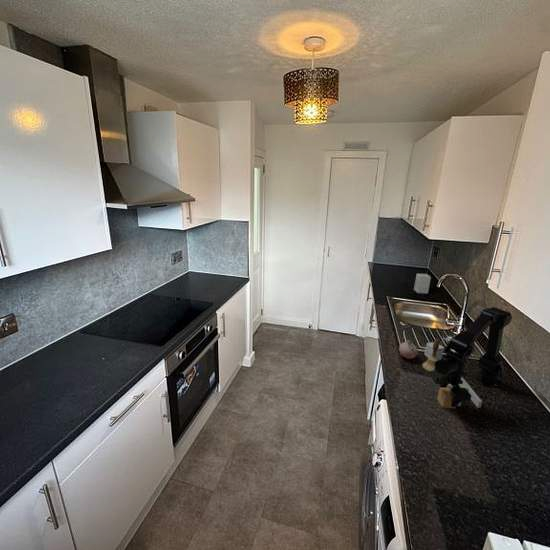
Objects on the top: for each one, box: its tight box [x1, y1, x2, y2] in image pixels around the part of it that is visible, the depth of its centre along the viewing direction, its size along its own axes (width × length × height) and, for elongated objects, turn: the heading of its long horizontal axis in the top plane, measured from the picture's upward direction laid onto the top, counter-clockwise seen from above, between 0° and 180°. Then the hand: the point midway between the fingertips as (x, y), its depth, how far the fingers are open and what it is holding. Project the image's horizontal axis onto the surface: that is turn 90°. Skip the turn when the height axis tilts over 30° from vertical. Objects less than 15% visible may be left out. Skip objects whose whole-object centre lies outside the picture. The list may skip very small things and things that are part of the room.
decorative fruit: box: [398, 339, 418, 360], centre depth 157 cm, size 9×8×10 cm
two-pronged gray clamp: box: [446, 377, 483, 409], centre depth 133 cm, size 18×10×5 cm, turn 177°
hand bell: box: [421, 338, 440, 373], centre depth 149 cm, size 8×8×16 cm
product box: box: [423, 342, 445, 360], centre depth 159 cm, size 6×6×7 cm
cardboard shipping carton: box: [436, 386, 456, 409], centre depth 126 cm, size 5×5×6 cm
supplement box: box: [413, 273, 432, 295], centre depth 256 cm, size 9×9×15 cm
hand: (447, 398), depth 126 cm, fingers open, 9 cm apart
